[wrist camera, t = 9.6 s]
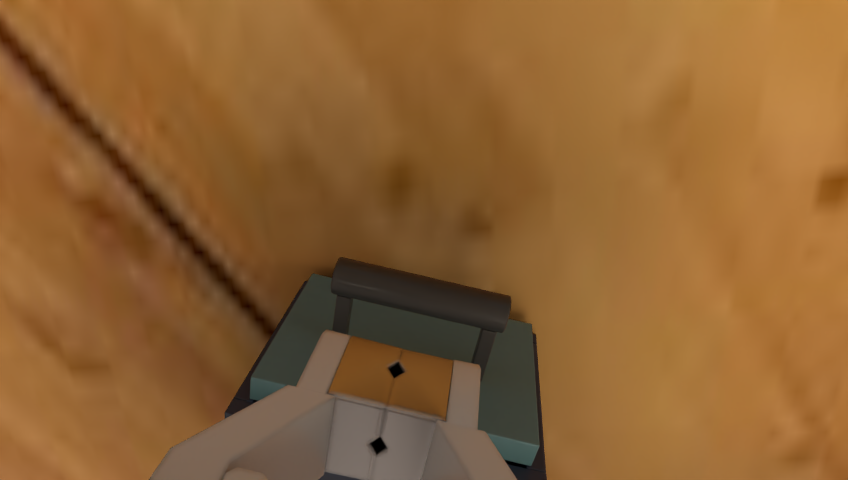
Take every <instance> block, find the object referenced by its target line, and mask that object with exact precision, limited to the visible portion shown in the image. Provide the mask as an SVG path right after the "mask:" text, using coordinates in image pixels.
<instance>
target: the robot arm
mask: <svg viewBox="0 0 848 480" xmlns="http://www.w3.org/2000/svg"><path fill="white" fill-rule="evenodd" d="M480 376H481V368H480V366H479V365H478V364H473V363H468V362H463V361H458V360H450V359H446V358H441V357H437V356H433V355H428V354H424V353H419V352H415V351H411V350H406V349H402V348H399V347H395V346H391V345H387V344H383V343H379V342H375V341H371V340H368V339H364V338H360V337H356V336H350V335H347V334H343V333H339V332H335V331H331V330H325V331H324V332H323V333H322V334H321V336H320V338H319V340H318V343H317V345H316V347H315V349H314V351H313V353H312V355H311V357H310V359H309V361H308V363H307V365H306V367H305V369H304V371H303V373H302V375H301V377H300V379H299V381H298V383H297V385H296V387H295V386H291V385H287V386H285V387H283V388H281V389H279V390H278V391H276V392H274V393H272V394H270V395H268V396H266V397H265V398H263V399H261V400H259V401H257V402H255V403H253V404H252V405H250V406H248V407H246V408H244V409H242V410H240V411H239V412H237V413H235V414H233V415H231V416H229V417H227V418H226V419H224V420H222V421H220V422H218V423H216V424H214V425H213V426H211V427H209V428H207V429H205V430H203V431H201V432H200V433H198V434H196V435H194V436H192V437H190V438H188V439H187V440H185V441H183V442H181V443H179V444H177V445H175V446H174V447H172V448H170V450H169V451H168V453H167V454H166V455H165V457H164V458H163V460H162V461H161V463H160V464H159V466H158V467H157V468H156V470H155V471H154V473H153V474H152V476H151V477H150V479H149V480H318V479H320V478H321V477H322V476H323V475H324V472H328V473H333V474H338V475H342V476H347V477H352V478H357V479H361V480H517V479H516V477H515V475H514V474H513V472H512V471H511V469H510V468H509V466H508V465H507V463H506V462H505V460H504V459H503V457H502V456H501V454H500V453H499V451H498V450H497V448H496V447H495V445H494V444H493V442H492V441H491V439H490V438H489V436H488V435H487V433H486V432H485V431H481V430H477V428H478V411H479V393H480Z"/></svg>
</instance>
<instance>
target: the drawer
mask: <svg viewBox="0 0 848 480" xmlns="http://www.w3.org/2000/svg"><path fill="white" fill-rule="evenodd" d="M510 309H511V297H510V296H508V295H503V294H499V293H495V292H490V291H486V290H482V289H477V288H473V287H469V286H464V285H460V284H456V283H451V282H447V281H443V280H438V279H434V278H430V277H425V276H421V275H417V274H412V273H408V272H404V271H399V270H395V269H391V268H386V267H382V266H378V265H373V264H369V263H365V262H360V261H356V260H352V259H347V258H343V257H341V258H339V259H338V261H337V263H336V266H335V269H334V272H333V276H332V278H331V277H327V276H322V275H318V274H314V273H313V274H312V275H311V277H310V279H309V280H308V282H307V284H306V285H305V287H304V289H303V290H302V292H301V294H300V295H299V297H298V299H297V300H296V302H295V304H294V305H293V307H292V309H291V310H290V312H289V314H288V315H287V317H286V319H285V320H284V322H283V324H282V325H281V327H280V329H279V330H278V332H277V334H276V335H275V337H274V339H273V340H272V342H271V344H270V345H269V347H268V349H267V350H266V352H265V354H264V356H263V357H262V359H261V361H260V362H259V364H258V366H257V367H256V369H255V371H254V372H253V374H252V376H251V380H250V399H253V400H257V401H259V400H261V399H263V398H265V397H266V396H268V395H270V394H272V393H274V392H276V391H278V390H279V389H281V388H283V387H285V386H287V385H291V386H295V387H296V385H297V383H298V381H299V379H300V377H301V375H302V373H303V371H304V369H305V367H306V365H307V363H308V361H309V359H310V357H311V355H312V353H313V351H314V349H315V347H316V345H317V343H318V340H319V338H320V336H321V334H322V333H323V332H324V331H325V330H331V331H335V332H339V333H343V334H347V335H350V336H356V337H360V338H364V339H368V340H371V341H375V342H379V343H383V344H387V345H391V346H395V347H399V348H402V349H406V350H411V351H415V352H419V353H424V354H428V355H433V356H437V357H441V358H446V359H450V360H458V361H463V362H468V363H473V364H478V365H479V366H480V368H481V376H480V393H479V411H478V428H477V430H481V431H485V432H486V433H487V435H488V436H489V438H490V439H491V441H492V442H493V444H494V445H495V447H496V448H497V450H498V451H499V453H500V454H501V456H502V457H503V459H504V460H507V461H511V462H515V463H519V464H524V465H528V466H531V465H532V463H533V461H534V458H535V456H536V453H537V451H538V449H539V446H540V445H539V429H538V413H537V398H536V382H535V366H534V351H533V335H532V324H529V323H525V322H520V321H516V320H512V319H509V315H510Z"/></svg>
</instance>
